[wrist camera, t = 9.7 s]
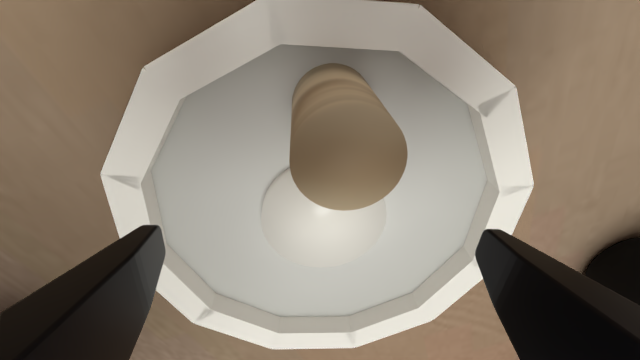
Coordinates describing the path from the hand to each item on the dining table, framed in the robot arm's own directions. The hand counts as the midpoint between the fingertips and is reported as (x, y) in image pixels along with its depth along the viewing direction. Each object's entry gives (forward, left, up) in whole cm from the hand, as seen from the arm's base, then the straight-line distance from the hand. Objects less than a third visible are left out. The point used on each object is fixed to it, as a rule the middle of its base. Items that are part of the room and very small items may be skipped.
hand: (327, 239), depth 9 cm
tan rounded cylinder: (+1, -1, -11) cm, 11 cm away
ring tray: (-7, -1, -12) cm, 14 cm away
